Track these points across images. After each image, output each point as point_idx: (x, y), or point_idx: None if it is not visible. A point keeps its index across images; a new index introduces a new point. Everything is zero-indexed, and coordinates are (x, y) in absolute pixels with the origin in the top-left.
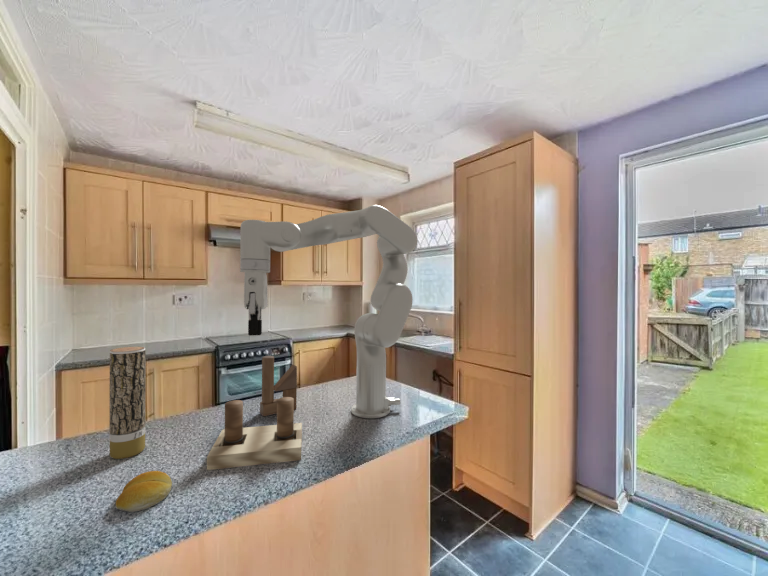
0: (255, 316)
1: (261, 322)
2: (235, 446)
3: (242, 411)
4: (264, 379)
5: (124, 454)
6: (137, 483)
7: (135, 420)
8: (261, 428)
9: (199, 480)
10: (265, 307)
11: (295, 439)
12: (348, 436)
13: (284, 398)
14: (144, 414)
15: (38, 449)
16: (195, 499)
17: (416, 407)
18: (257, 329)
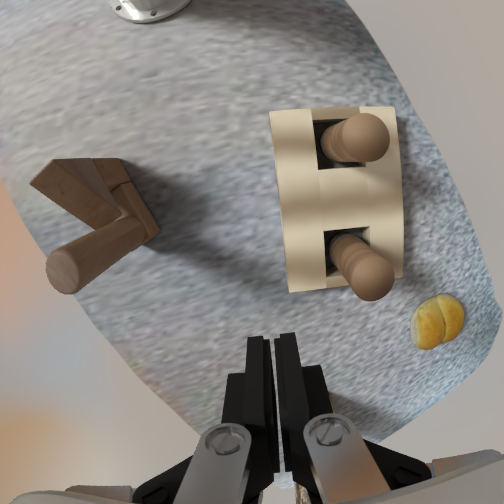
0: (386, 461)
1: (263, 395)
2: (376, 239)
3: (369, 250)
4: (116, 256)
5: (331, 401)
6: (444, 335)
7: None
8: (295, 206)
9: (417, 268)
10: (386, 502)
11: None
12: (290, 21)
13: (357, 141)
14: None
15: (276, 479)
16: (456, 254)
17: None
18: (319, 373)
